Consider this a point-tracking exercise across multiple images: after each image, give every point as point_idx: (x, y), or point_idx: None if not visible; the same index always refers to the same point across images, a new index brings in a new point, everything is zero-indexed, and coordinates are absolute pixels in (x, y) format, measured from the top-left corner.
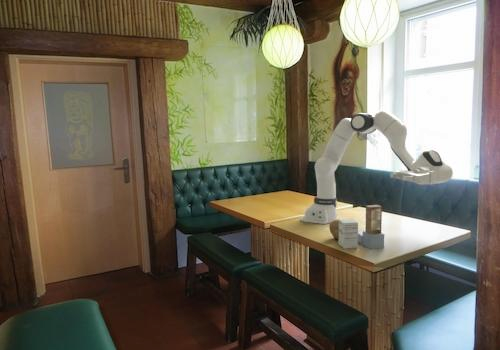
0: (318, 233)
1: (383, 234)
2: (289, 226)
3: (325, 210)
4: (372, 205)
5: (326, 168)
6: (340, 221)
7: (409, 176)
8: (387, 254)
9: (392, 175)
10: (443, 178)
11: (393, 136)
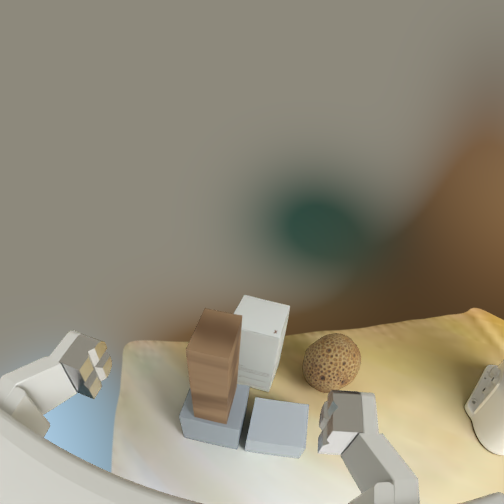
0: (383, 363)
1: (180, 413)
2: (446, 333)
3: (495, 386)
4: (228, 334)
5: None
6: (271, 302)
7: (26, 374)
8: (137, 399)
9: (328, 398)
10: None
11: None
